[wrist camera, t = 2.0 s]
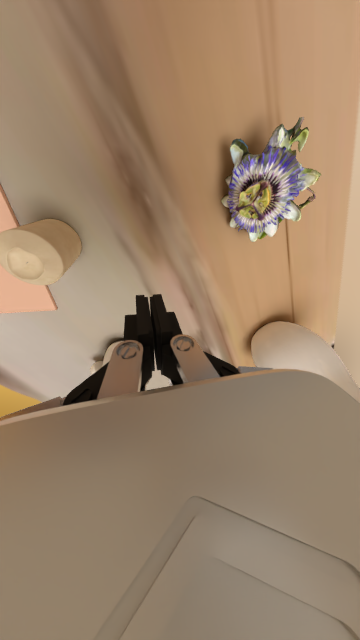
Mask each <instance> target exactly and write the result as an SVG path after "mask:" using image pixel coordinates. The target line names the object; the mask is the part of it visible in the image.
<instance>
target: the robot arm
mask: <svg viewBox="0 0 360 640" xmlns="http://www.w3.org/2000/svg"><path fill="white" fill-rule="evenodd" d="M150 310H151V316H150ZM136 312H137V314H136V315H125V326H124V341H123V342H121V343H119V344H118V345H117V346H115V348H114V350H113V352H112V355H111V358H110V361H109V362H108V363H106V364H105V365H104V366H103V367H101V368H100V369H99V370H98V371H96V372H95V373H94V374H92V375H91V376H90V377H89V378H87V379H86V380H85V381H84V382H82V383H81V384H80V385H78V386H77V387H76V388H75V389H73V390H72V391H71V392H70V393H69V394H68V395H67V397H64V398H61V397H57V398H54V399H51V400H48V401H45V402H43V403H40V404H37V405H34V406H31V407H28V408H25V409H23V410H20V411H17V412H14V413H11V414H8V415H5V416H3V417H1V418H0V640H360V403H359V402H358V401H356V400H355V399H354V398H353V397H352V396H350V395H349V394H348V393H347V392H346V391H344V390H343V389H342V388H340V387H339V386H338V385H337V384H335V383H334V382H332V381H331V380H329V379H328V378H326V377H324V376H321V375H319V374H316V373H312V372H308V371H303V370H297V369H273V368H261V367H242V366H239V367H238V368H235V367H234V366H233V365H231V364H229V363H227V362H225V361H223V360H221V359H218V358H216V357H214V356H212V355H210V354H208V353H206V352H204V351H202V349H201V348H200V346H199V345H198V343H197V342H196V340H195V339H194V338H192V337H191V336H188V335H183V334H182V331H181V329H180V326H179V323H178V321H177V318H176V315H175V313H174V312H166V309H165V305H164V302H163V299H162V296H161V294H157V295H153V297H150V309H149V303H148V297H144V295H136ZM154 351H155V358H156V365H157V370H161V375H164V376H166V377H168V378H169V383H170V386H168V387H163V388H157V389H152V390H146V387H147V386H146V383H147V382H148V380H149V379H150V378H151V377H152V371H155V366H154Z"/></svg>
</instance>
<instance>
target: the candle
mask: <svg viewBox="0 0 360 640" xmlns="http://www.w3.org/2000/svg"><path fill="white" fill-rule="evenodd" d="M81 248H82V245H81V241H80V238H79V236H78V235H77V233H76V232H75V231H74V230H73V229H72V228H71V227H70V226H69V225H67V224H66V223H64V222H62V221H59V220H56V219H44V220H40V221H37V222H33V223H30V224H26V225H23V226H19V227H16V228H12V229H9V230H6V231H3V232H1V233H0V264H1V265H2V267H3V268H4V269H5V270H6V271H7V272H9V273H10V274H11V275H13V276H14V277H16V278H18V279H20V280H22V281H24V282H27V283H30V284H34V285H49V284H53V283H55V282H56V281H58V280H59V279H60V278H61V277H62V275H63V274H64V273H65V272H66V271H67V270H68V268H69V267H70V266H71V265H72V264H73V263H74V261H75V260H76V259H77V258H78V257H79V255H80V253H81Z"/></svg>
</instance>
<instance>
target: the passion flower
mask: <svg viewBox="0 0 360 640" xmlns="http://www.w3.org/2000/svg"><path fill="white" fill-rule="evenodd" d="M303 120H304V117H301V118H299V120H298V122H297V124H296V125H295V126H294V127H293V128H292V129H290V130H286V129H285V128H284V125H283V124H281V125H280V126H278V127H277V128H276V129H275V131H274V132H273V134H272V136H271V138H270V140H269V142H268V144H267V146H266V148H265V150H264V151H263V152H262V154H258V155H252V154H251V153H249V151H248V147H247V145H246V144H245V142H244V141H243V140H241V139H235V140H233V142H232V144H231V146H230V152H231V156H232V160H233V163H234V165H235V166H234V169H233V171H232V173H233V174H231V175H229V176H228V177H227V178H226V179H225V181H226V183H227V185H228V187H229V192H228V194H227V195H225V196H224V197H223V199H222V200H221V201H222V203H223V205H224V206H225V207H228V208H229V209H230V212H232V215H231V217H232V218H231V220H230V226H231V227H234V228H236V227H239V226H240V228H239V229H241V230H242V229H245V230H247V232H248V231H249V232H248V233H249V238H250V240H251V241H252V242H255V241H256V240H257V238H258V239H262V238H264V237H265V236H266V235H268V236H270V237H272V236H273V235H274V234H275V233H276V231H277V229H278V225H279V223H280V222H281V221H282V220H283V219H284V218H287V219H291V220H292V221H299V220H300V219H301V211H300V209H302V208H304V207H305V206H306V205H308V204H309V203H310V202H312V201H313V200H314V199H315V194H314V191H312V190H311V189H310V188H309V186H311V185H313V184H314V183H315V182H316V181H317V180H318V178H319V177H320V175H321V174H320V173H319V172H317V171H316V170H313V169H308V168H304V167H302V164H300V163H299V162H298V161H297V160H296V158H295V157H296V150H294V151H291V149H290V147H291V146H292V143H293V142H295V141H298V142H299V144H298V149H299V152H300V151H301V150H302V148H303V146H304V144H305V142H306V140H307V137H308V131H309V130H308V128H307V127H306V128H304V129H303V130H301V129H300V127H301V124H302V122H303ZM292 134H293V135H292ZM291 135H292V138H291V140H290V137H291ZM306 188H307V189H308V190H309V191H311V192H312V193H313V196H311V197H309V198H308V200H307V201H306V202H305V203H303V204H300V205H299V206H298V205H296V204H295V203H294V202H293V201H292V200H294V198H293V196H295V197H297V196H298V194H299V191H303V190H304V189H306ZM238 231H239V230H238Z"/></svg>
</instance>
